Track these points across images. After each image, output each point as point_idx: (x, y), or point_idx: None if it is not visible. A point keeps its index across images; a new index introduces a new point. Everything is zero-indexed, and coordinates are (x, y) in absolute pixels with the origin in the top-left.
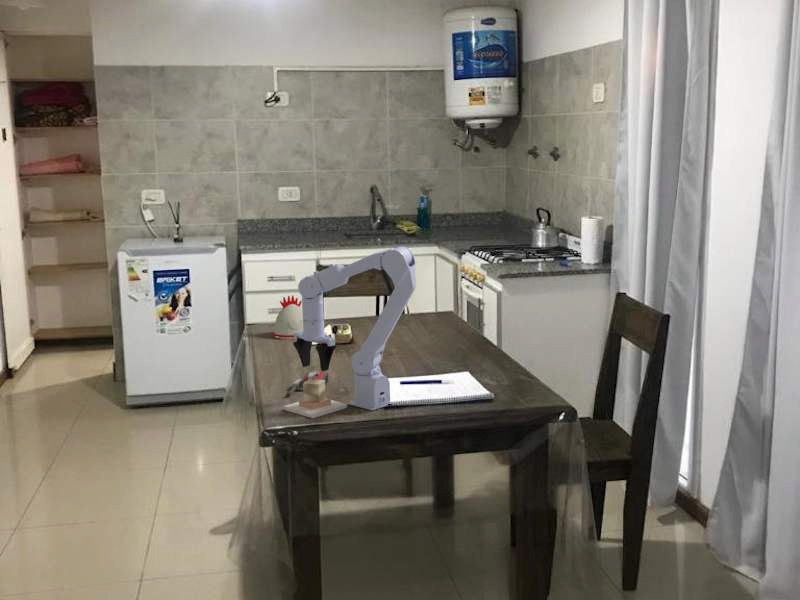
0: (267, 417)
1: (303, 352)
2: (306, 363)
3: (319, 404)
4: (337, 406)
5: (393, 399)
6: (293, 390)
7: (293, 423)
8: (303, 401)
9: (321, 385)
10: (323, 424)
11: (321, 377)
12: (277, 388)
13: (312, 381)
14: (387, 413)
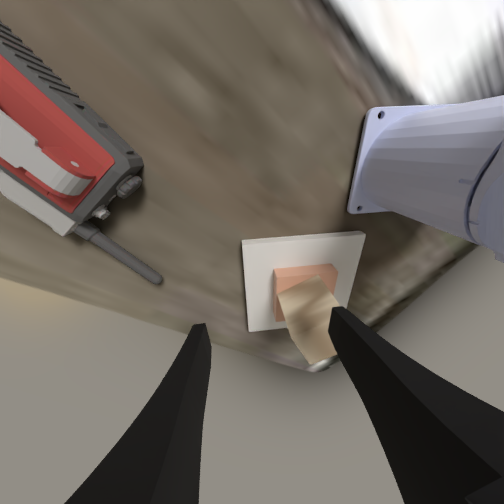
0: (265, 356)
1: (196, 438)
2: (207, 350)
3: None
4: (355, 261)
5: (461, 39)
6: (132, 258)
7: None
8: None
9: None
10: (379, 319)
11: (44, 102)
12: (33, 249)
13: (321, 344)
14: None
